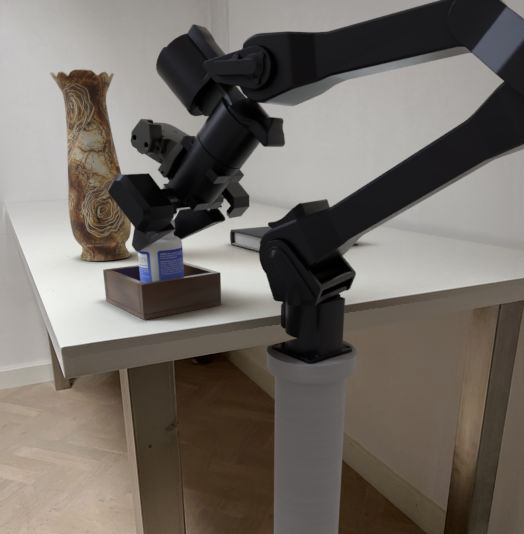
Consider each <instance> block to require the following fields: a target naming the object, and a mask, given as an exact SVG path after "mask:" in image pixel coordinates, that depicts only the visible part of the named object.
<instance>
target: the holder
mask: <svg viewBox="0 0 524 534" xmlns="http://www.w3.org/2000/svg"><path fill="white" fill-rule="evenodd" d="M183 265H184V277H179V278H172V279H166V280H159V281H153V282H146V283H143V282H141V281H140V271H139V264H135V265H128V266H120V267H114V268H113V267H112V268H106V269H103V270H102V273H103V282H104V283H103V284H104V290H105V291H104V292H105V293H104V294H105V302H106V303H108V304H111V305H113V306H115V307H117V308H119V309H121V310H123V311H125V312H127V313H129V314H131V315H133V316H135V317H136V318H139V319H140V320H144V321H146V320H151V319H157V318H161V317H162V318H163V317H167V316H172V315H176V314H181V313H187V312H192V311H197V310H203V309H207V308H212V307H213V308H214V307H218V306H222V282H221V281H222V280H221V279H222V277H221V272H220V271H217V270H213V269H209V268H206V267H202V266H199V265H196V264H194V263H193V264H192V263H189V262H186V261H183Z"/></svg>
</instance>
